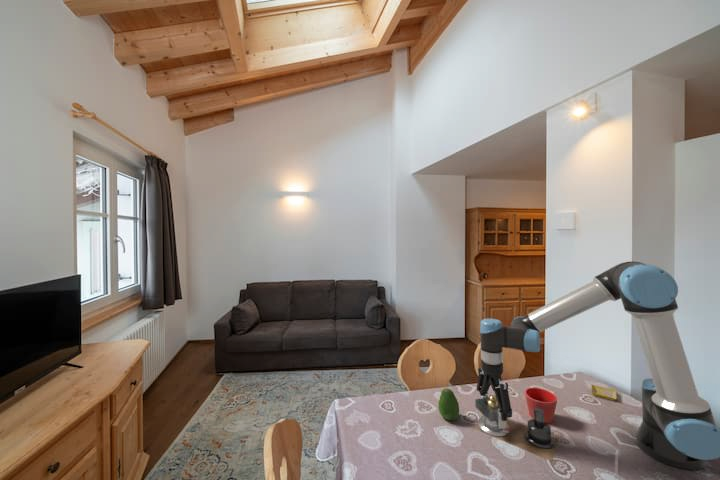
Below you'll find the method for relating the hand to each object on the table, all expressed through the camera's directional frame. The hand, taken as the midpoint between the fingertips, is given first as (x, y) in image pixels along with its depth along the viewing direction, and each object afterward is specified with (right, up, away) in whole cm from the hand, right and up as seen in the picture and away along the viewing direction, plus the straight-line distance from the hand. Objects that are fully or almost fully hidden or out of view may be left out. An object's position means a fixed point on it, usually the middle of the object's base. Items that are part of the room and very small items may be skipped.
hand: (493, 419), depth 109 cm
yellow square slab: (+59, -2, +20) cm, 62 cm away
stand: (+13, -3, -7) cm, 15 cm away
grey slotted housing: (0, +3, 0) cm, 3 cm away
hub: (0, -3, 0) cm, 3 cm away
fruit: (-15, -4, +7) cm, 17 cm away
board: (+6, -3, -3) cm, 8 cm away
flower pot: (+21, -3, +5) cm, 22 cm away
